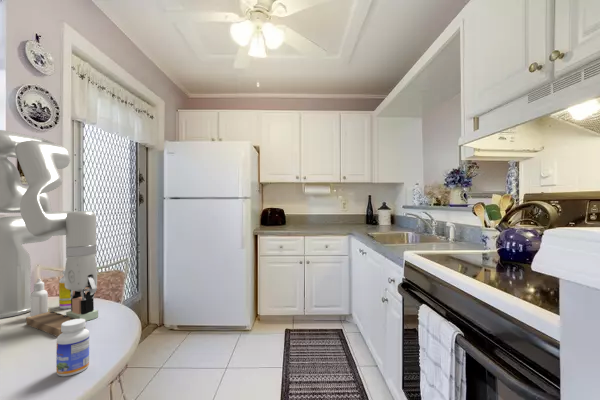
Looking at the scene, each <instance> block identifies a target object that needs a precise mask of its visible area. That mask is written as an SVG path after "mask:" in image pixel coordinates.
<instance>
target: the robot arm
mask: <svg viewBox="0 0 600 400" xmlns="http://www.w3.org/2000/svg"><path fill="white" fill-rule="evenodd" d="M9 158H14V159H17V161H18V162H19V165H20V169H21V170H22V173H23V175H24V179H25V181H26V184H27V185H24V184H22V180H21V175H20V171H19V170H18V168H17V166H16V165H15V164H13V162H12V161H10V160H9ZM70 162H71V154H70V152H69V150H68V149H67V148H66V147H64V146H63V145H61V144H58V143H55V142H53V141H50V140H48V139H44V138H42V137H39V136H34V135H29V134H23V133H19V132H14V131H9V130H3V129H0V214H20V216H19V215H18V216H17V215H15V216H14V215H11V216H1V217H0V319H3V318H9V317H15V316H20V315H23V314H26V313H29V312H30V313H31V293H32V292H31V291H32V290H31V289H32V285H31V283H32V282H31V278H32V277H31V255H30V253H29V251H28V250H27V249H26V248H25V247H24V246H23V245H25V244H26V245H27V244H34V243H35V244H36V243H42V242H46V241H49V240H50V239H51V238H52V237H55V236H57V237H58V236H65V258H66V260H65V266H64V267H65V288H66V289H69V290H70V292H71V295H70V297H71V308H70V309H71V310H70V311H72V299H74V298H78V297H82V301H81V314H86V313H89V312H93V310H95V309H94V306H95V305H94V298H95V294H96V292H97V290H98V287H97V285H98V269H97V261H96V260H97V259H96V256H97V216H96V213H95V212H93V211H88V210H87V211H86V210H85V211H80V210H79V211H74V210H71V211H70V210H67V211H66V210H65V211H64V210H63V211H61V210H60V211H59V210H57V211H56V210H55V211H54V210H53V211H52V205H51V200H50V196H49V194H48V193H49V192H52V191H55V190H56V189H58V188H60V186H61V185H62V183H63V178H62V176H61V174H60V172H59V170H62V169H65V168H67V167H68V166H69V165H70Z"/></svg>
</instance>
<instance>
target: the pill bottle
mask: <svg viewBox="0 0 600 400" xmlns="http://www.w3.org/2000/svg"><path fill="white" fill-rule="evenodd" d="M86 322H87V321H85V319H73V320H69V321H66V322H64V323H62V324H61V332H63V333H62V334H60V335H59V336H56V364H55V366H56V369H55V370H56V375H57V376H59V377H70V376H73V375H76V374H78V373H81V372H84V371H85V370H86V369H87V368H88V367H90V330H88V329H87V328H86V325H87V323H86ZM84 328H85V329H84Z"/></svg>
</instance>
